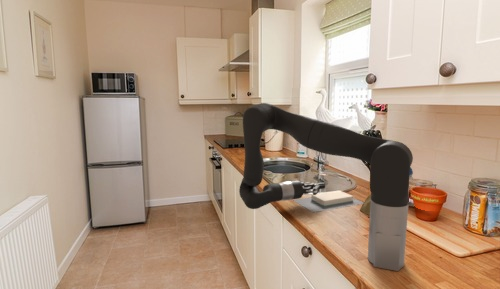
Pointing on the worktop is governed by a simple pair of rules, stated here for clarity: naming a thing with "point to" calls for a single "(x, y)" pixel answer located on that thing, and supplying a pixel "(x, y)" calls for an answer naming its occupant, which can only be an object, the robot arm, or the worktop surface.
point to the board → (317, 207)
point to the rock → (366, 206)
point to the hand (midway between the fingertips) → (324, 185)
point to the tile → (332, 198)
